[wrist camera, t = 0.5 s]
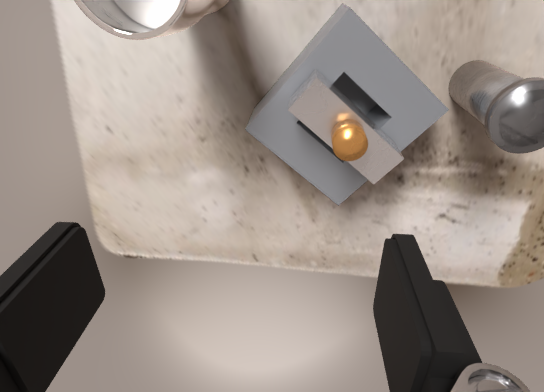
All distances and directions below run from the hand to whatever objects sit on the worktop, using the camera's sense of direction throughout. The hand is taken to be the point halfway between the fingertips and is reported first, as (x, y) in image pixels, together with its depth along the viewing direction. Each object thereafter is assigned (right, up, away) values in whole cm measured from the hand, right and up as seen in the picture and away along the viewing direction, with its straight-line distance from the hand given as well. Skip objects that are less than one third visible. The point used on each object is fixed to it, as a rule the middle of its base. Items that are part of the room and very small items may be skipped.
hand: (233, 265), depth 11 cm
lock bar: (+7, +8, +18) cm, 21 cm away
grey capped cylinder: (+19, +12, +22) cm, 32 cm away
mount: (+7, +11, +23) cm, 27 cm away
